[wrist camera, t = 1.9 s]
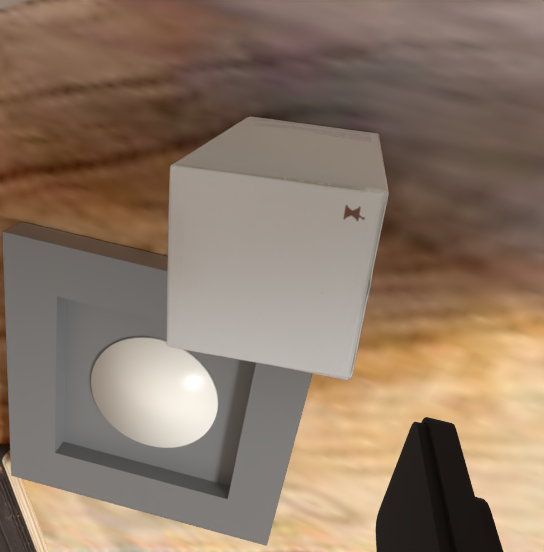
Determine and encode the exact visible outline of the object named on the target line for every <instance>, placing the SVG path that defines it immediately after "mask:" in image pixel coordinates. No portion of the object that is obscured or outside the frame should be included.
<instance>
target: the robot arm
mask: <svg viewBox="0 0 544 552" xmlns="http://www.w3.org/2000/svg"><path fill="white" fill-rule="evenodd" d="M376 546H377V552H503V549H502V546H501V543H500V539H499V536H498V533H497V530H496V526H495V523H494V520H493V517H492V513H491V510H490V508H489V505H488V503H487V502H486V501H485V500H484V499H481V498H477V497H475V495H474V492H473V488H472V485H471V481H470V478H469V474H468V470H467V467H466V463H465V460H464V456H463V452H462V449H461V445H460V442H459V438H458V435H457V431H456V428H455V425H454V424H452V423H449V422H445V421H440V420H436V419H432V418H428V417H426V418H424V419H423V420H422V422H421V423H418V422H414V423H413V424H412V426H411V428H410V431H409V434H408V436H407V439H406V441H405V444H404V447H403V449H402V452H401V454H400V457H399V460H398V462H397V465H396V468H395V470H394V473H393V475H392V478H391V481H390V483H389V486H388V488H387V491H386V494H385V496H384V499H383V502H382V504H381V507H380V509H379V512H378V516H377V521H376Z"/></svg>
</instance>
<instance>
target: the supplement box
mask: <svg viewBox="0 0 544 552" xmlns="http://www.w3.org/2000/svg"><path fill="white" fill-rule="evenodd" d="M388 196H389V192H388V185H387V180H386V174H385V168H384V162H383V156H382V150H381V144H380V138H379V134H378V133H370V132H362V131H356V130H347V129H340V128H333V127H326V126H318V125H311V124H304V123H296V122H289V121H281V120H274V119H266V118H258V117H247V118H245V119H244V120H243V121H241V122H239V123H237V124H236V125H234V126H233V127H231V128H230V129H228V130H227V131H225V132H223V133H222V134H220V135H218V136H217V137H215V138H214V139H212V140H210V141H209V142H207V143H206V144H204V145H203V146H201V147H199V148H198V149H196V150H195V151H193V152H191V153H190V154H188V155H187V156H185V157H184V158H182V159H180V160H179V161H177V162H175V163H174V164H172V165H171V166H170V183H169V218H168V273H167V342H166V343H167V346H168V347H172V348H178V349H183V350H189V351H194V352H200V353H205V354H211V355H217V356H223V357H228V358H234V359H239V360H245V361H251V362H257V363H263V364H269V365H274V366H279V367H284V368H289V369H293V370H298V371H303V372H308V373H313V374H318V375H324V376H329V377H334V378H338V379H343V380H349V379H350V378H351V376H352V374H353V370H354V365H355V360H356V355H357V349H358V344H359V339H360V334H361V329H362V324H363V319H364V314H365V310H366V305H367V300H368V296H369V291H370V287H371V281H372V274H373V268H374V263H375V258H376V253H377V248H378V243H379V239H380V234H381V229H382V224H383V219H384V214H385V209H386V205H387V200H388Z"/></svg>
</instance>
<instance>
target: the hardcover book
mask: <svg viewBox="0 0 544 552" xmlns="http://www.w3.org/2000/svg"><path fill="white" fill-rule="evenodd" d="M0 552H49V551H48V548H47V545H46V543H45V540H44V537H43V534H42V532H41V529H40V526H39V523H38V521H37V518H36V515H35V512H34V510H33V507H32V504H31V502H30V499H29V496H28V493H27V491H26V488H25V485H24V482H23V480H22V478H18V477H14V476H11V458H10V445H0Z"/></svg>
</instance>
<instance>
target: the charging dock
mask: <svg viewBox="0 0 544 552" xmlns="http://www.w3.org/2000/svg"><path fill="white" fill-rule="evenodd" d="M2 238H3V265H4V293H5V320H6V348H7V375H8V403H9V430H10V458H11V476H14V477H18V478H22V479H25V480H29V481H33V482H36V483H40V484H44V485H47V486H51V487H54V488H58V489H62V490H65V491H69V492H73V493H76V494H80V495H84V496H87V497H91V498H95V499H98V500H102V501H106V502H109V503H113V504H116V505H120V506H124V507H127V508H131V509H135V510H138V511H142V512H146V513H149V514H153V515H157V516H160V517H164V518H168V519H171V520H175V521H178V522H182V523H186V524H189V525H193V526H197V527H200V528H204V529H208V530H211V531H215V532H219V533H222V534H226V535H230V536H233V537H237V538H240V539H244V540H248V541H251V542H255V543H259V544H262V545H266V546H267V543H268V539H269V535H270V531H271V528H272V524H273V520H274V516H275V513H276V509H277V505H278V501H279V498H280V494H281V490H282V486H283V482H284V479H285V475H286V471H287V467H288V464H289V460H290V456H291V452H292V449H293V445H294V441H295V437H296V434H297V430H298V426H299V422H300V419H301V415H302V411H303V407H304V403H305V400H306V396H307V392H308V388H309V385H310V381H311V377H312V373H308V372H303V371H298V370H293V369H289V368H284V367H279V366H274V365H269V364H263V363H257V362H251V361H245V360H239V359H234V358H228V357H223V356H217V355H211V354H205V353H200V352H194V351H189V350H183V349H178V348H172V347H168V346H167V343H166V342H167V273H168V256H164V255H160V254H155V253H151V252H147V251H143V250H139V249H134V248H130V247H126V246H122V245H118V244H113V243H109V242H105V241H101V240H97V239H93V238H88V237H84V236H80V235H76V234H72V233H67V232H63V231H59V230H55V229H51V228H46V227H42V226H38V225H34V224H30V223H26V222H20V223H18V224H16V225H15V226H13V227H11V228H9V229H7V230H5V231H3V232H2Z"/></svg>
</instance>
